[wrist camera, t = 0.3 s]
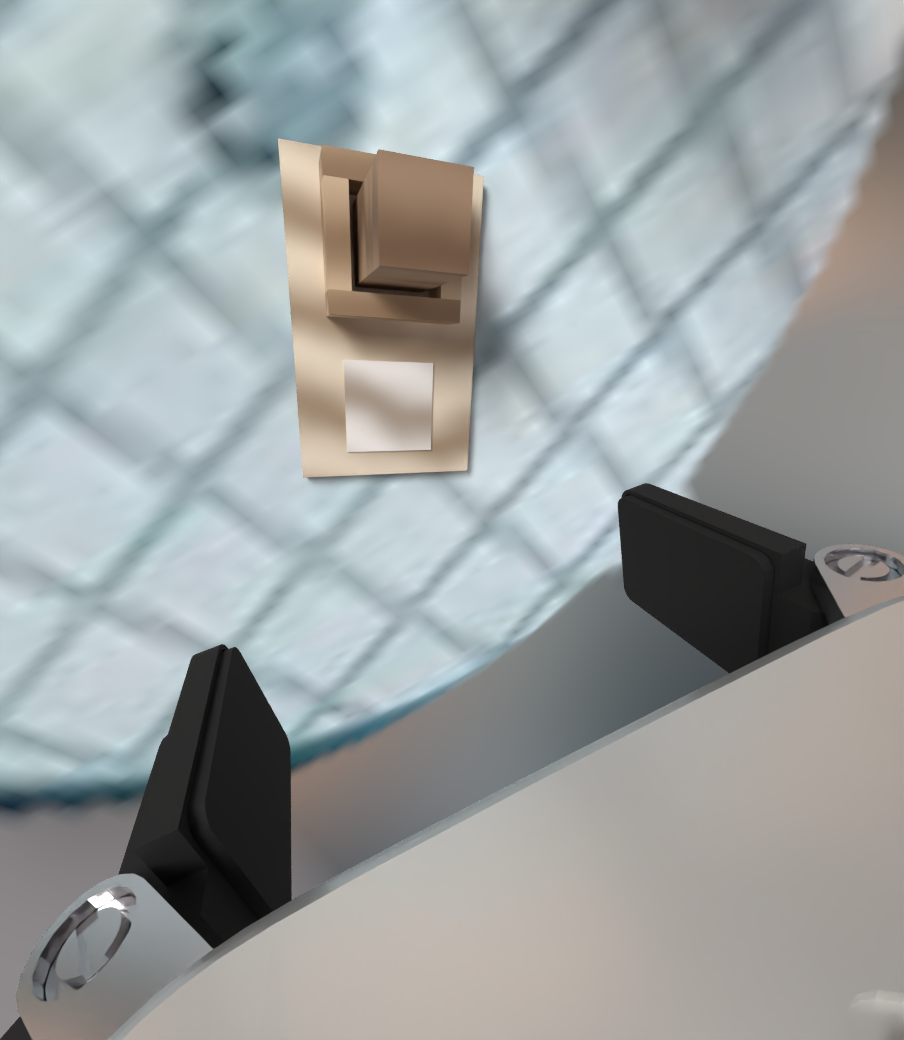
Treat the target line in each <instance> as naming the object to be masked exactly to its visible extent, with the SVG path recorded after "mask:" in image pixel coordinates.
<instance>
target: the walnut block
mask: <svg viewBox="0 0 904 1040" xmlns="http://www.w3.org/2000/svg"><path fill="white" fill-rule="evenodd" d="M473 174H474V167H470V166H465V165H459V164H454V163H449V162H443V161H438V160H433V159H427V158H422V157H416V156H411V155H406V154H400V153H395V152H390V151H384V150H378V152H377V154H376V156H375V158H374V160H373V162H372V165H371V167H370V169H369V171H368V173H367V175H366V177H365V180H364V182H363V184H362V186H361V188H360V190H359V192H358V195H357V197H356V199H355V201H354V203H353V205H352V206H353V241H354V275H355V287H362V288H373V289H385V290H396V291H407V292H419V293H422V292H425V291H428V290H430V289H433V288H435V287H438V286H441V285H443V284H446V283H448V282H451V281H454V280H456V279H459V278H461V277H464V276H467V275H469V255H470V235H471V215H472V194H473Z"/></svg>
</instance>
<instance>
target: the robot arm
mask: <svg viewBox="0 0 904 1040" xmlns="http://www.w3.org/2000/svg"><path fill="white" fill-rule="evenodd" d="M618 514H619V527H620V540H621V553H622V566H623V579H624V589H625V592H626V594H627V596H628V597H629V598H630V600H632V601H633V602H634V603H635V604H637V605H638V606H640V607H641V608H642V609H643V610H645V611H646V612H648V613H649V614H650V615H652V616H653V617H654V618H656V619H657V620H658V621H660V622H661V623H662V624H664V625H665V626H667V627H668V628H669V629H670V630H672V631H673V632H675V633H676V634H677V635H679V636H680V637H681V638H683V639H684V640H685V641H687V642H688V643H689V644H691V645H692V646H693V647H695V648H696V649H697V650H699V651H700V652H701V653H703V654H704V655H706V656H707V657H708V658H709V659H711V660H712V661H714V662H715V663H716V664H718V665H719V666H720V667H722V668H723V669H725V670H726V671H727V672H728V673H730V674H728V675H726V676H724V677H722V678H720V679H718V680H716V681H714V682H712V683H710V684H708V685H706V686H704V687H702V688H700V689H698V690H696V691H694V692H692V693H690V694H688V695H686V696H684V697H682V698H680V699H678V700H676V701H674V702H672V703H670V704H668V705H666V706H664V707H662V708H660V709H658V710H656V711H654V712H652V713H650V714H648V715H646V716H645V717H643V718H640V719H639V720H636V721H635V722H633V723H631V724H629V725H627V726H625V727H623V728H621V729H619V730H617V731H615V732H613V733H611V734H609V735H607V736H605V737H603V738H601V739H599V740H597V741H595V742H593V743H591V744H589V745H587V746H586V747H584V748H581V749H579V750H577V751H576V752H574V753H572V754H570V755H568V756H566V757H564V758H562V759H560V760H558V761H556V762H554V763H552V764H550V765H548V766H546V767H544V768H542V769H540V770H538V771H537V772H534V773H532V774H530V775H529V776H527V777H525V778H523V779H521V780H519V781H517V782H515V783H513V784H512V785H509V786H507V787H505V788H503V789H502V790H499V791H498V792H496V793H494V794H492V795H490V796H488V797H486V798H484V799H482V800H480V801H478V802H476V803H474V804H472V805H470V806H468V807H467V808H465V809H463V810H461V811H459V812H457V813H455V814H453V815H451V816H449V817H447V818H445V819H443V820H441V821H439V822H438V823H436V824H434V825H432V826H430V827H428V828H426V829H424V830H422V831H420V832H418V833H416V834H414V835H412V836H410V837H408V838H407V839H405V840H403V841H401V842H399V843H397V844H395V845H393V846H391V847H389V848H388V849H386V850H384V851H382V852H380V853H378V854H376V855H374V856H373V857H371V858H369V859H367V860H365V861H364V862H361V863H360V864H358V865H356V866H354V867H352V868H350V869H348V870H347V871H345V872H343V873H341V874H339V875H337V876H335V877H334V878H332V879H330V880H328V881H326V882H324V883H322V884H320V885H319V886H317V887H315V888H313V889H311V890H309V891H307V892H306V893H304V894H302V895H300V896H298V897H297V898H295V899H293V900H291V764H290V745H289V741H288V738H287V736H286V733H285V732H284V730H283V728H282V726H281V724H280V723H279V721H278V719H277V717H276V715H275V714H274V712H273V710H272V708H271V706H270V705H269V703H268V701H267V699H266V698H265V696H264V694H263V692H262V690H261V689H260V687H259V685H258V683H257V681H256V680H255V678H254V676H253V674H252V672H251V671H250V669H249V667H248V665H247V663H246V662H245V660H244V658H243V656H242V655H241V653H240V651H239V650H238V649H237V648H236V647H233V648H230V649H228V648H227V647H226V646H225V645H223V644H221V645H219V646H216V647H214V648H211V649H208V650H206V651H203V652H200V653H198V654H195V655H193V656H192V658H191V661H190V664H189V668H188V671H187V674H186V677H185V681H184V684H183V687H182V690H181V694H180V697H179V700H178V703H177V707H176V710H175V713H174V717H173V720H172V723H171V726H170V730H169V733H168V735H167V736H166V737H165V738H164V739H163V740H162V742H161V744H160V746H159V749H158V752H157V755H156V759H155V762H154V765H153V768H152V771H151V774H150V777H149V780H148V784H147V787H146V790H145V793H144V796H143V799H142V802H141V806H140V809H139V812H138V815H137V818H136V821H135V824H134V828H133V831H132V834H131V837H130V840H129V843H128V846H127V850H126V853H125V856H124V859H123V862H122V865H121V868H120V871H119V874H118V875H117V876H114V877H112V878H109V879H107V880H104V881H102V882H100V883H99V884H97V885H96V886H94V887H93V888H91V889H89V890H88V891H86V892H85V893H84V894H83V895H81V896H80V897H79V898H78V899H77V900H75V901H74V902H73V903H72V904H71V905H70V906H69V907H67V908H66V909H65V910H64V911H63V913H62V914H61V915H60V916H59V917H58V918H57V919H56V920H55V921H54V922H53V924H52V925H51V926H50V927H49V928H48V929H47V931H46V932H45V933H44V935H43V936H42V938H41V939H40V941H39V942H38V944H37V945H36V947H35V948H34V949H33V951H32V952H31V954H30V957H29V959H28V961H27V963H26V965H25V967H24V969H23V971H22V973H21V976H20V980H19V984H18V988H17V992H16V1001H17V1008H18V1012H19V1014H20V1017H19V1018H18V1019H17V1020H16V1022H15V1023H14V1024H13V1025H12V1026H11V1027H10V1028H9V1030H8V1031H7V1032H6V1033H5V1034H4V1035H3V1037H2V1038H1V1039H0V1040H904V556H903V555H901V554H898V553H896V552H894V551H890V550H887V549H884V548H880V547H876V546H870V545H864V544H840V545H833V546H829V547H825V548H824V549H822V550H820V551H818V552H817V553H816V555H815V557H814V562H813V561H810V560H808V559H805V550H806V544H805V543H803V542H800V541H798V540H795V539H792V538H789V537H787V536H784V535H782V534H779V533H777V532H774V531H771V530H769V529H766V528H763V527H761V526H758V525H756V524H753V523H750V522H748V521H745V520H742V519H740V518H737V517H735V516H732V515H730V514H727V513H724V512H722V511H719V510H716V509H714V508H711V507H709V506H706V505H703V504H701V503H698V502H696V501H693V500H690V499H688V498H685V497H682V496H680V495H677V494H675V493H672V492H669V491H667V490H664V489H662V488H659V487H656V486H654V485H651V484H647V483H645V484H642V485H639V486H637V487H634V488H631V489H629V490H626V491H625V492H624V493H623V494H622V498H621V499H620V500H619V502H618Z"/></svg>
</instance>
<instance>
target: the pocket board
mask: <svg viewBox="0 0 904 1040" xmlns="http://www.w3.org/2000/svg"><path fill="white" fill-rule="evenodd" d="M278 144H279V158H280V172H281V185H282V198H283V212H284V225H285V239H286V252H287V266H288V279H289V293H290V306H291V320H292V333H293V347H294V360H295V374H296V387H297V401H298V414H299V428H300V441H301V455H302V468H303V477H325V476H349V475H373V474H396V473H420V472H444V471H467V464H468V447H469V429H470V411H471V393H472V375H473V358H474V340H475V322H476V304H477V287H478V269H479V251H480V233H481V216H482V198H483V180H484V176H482V175H477V174H473V194H472V215H471V235H470V255H469V275H467V276H464V277H461V278H459V279H456V280H454V281H451V282H448V283H446V284H443V285H441V286H438V287H435V288H433V289H430V290H428V291H425V292H422V293H419V292H407V291H396V290H385V289H373V288H362V287H355V275H354V241H353V206H352V205H353V203H354V201H355V199H356V197H357V195H358V192H359V190H360V188H361V186H362V184H363V182H364V180H365V177H366V175H367V173H368V171H369V169H370V167H371V165H372V162H373V160H374V158H375V156H376V154H371V153H365V152H360V151H354V150H349V149H343V148H338V147H332V146H327V145H322V146H317V145H311V144H306V143H300V142H295V141H289V140H284V139H278Z"/></svg>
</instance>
